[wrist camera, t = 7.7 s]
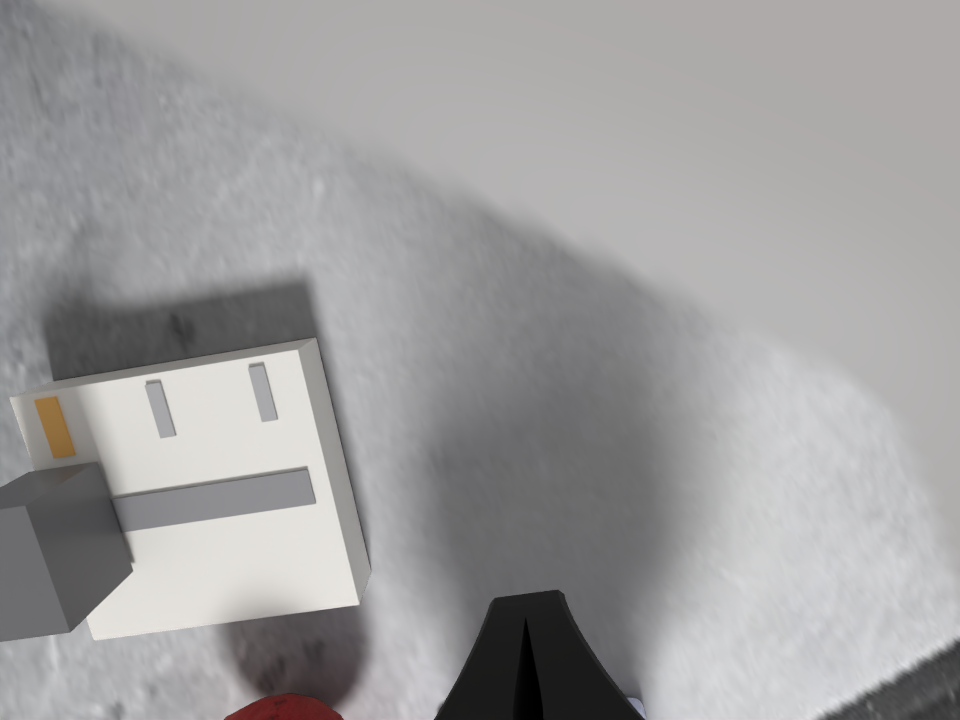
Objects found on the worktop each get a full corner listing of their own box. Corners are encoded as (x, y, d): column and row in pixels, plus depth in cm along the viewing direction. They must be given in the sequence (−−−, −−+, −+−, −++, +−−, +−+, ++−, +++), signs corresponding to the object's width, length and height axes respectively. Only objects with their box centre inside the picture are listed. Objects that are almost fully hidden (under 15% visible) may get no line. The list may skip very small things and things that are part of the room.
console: (371, 572, 24) (358, 606, 22) (127, 606, 24) (92, 642, 22) (316, 337, 22) (296, 350, 20) (52, 381, 22) (6, 398, 20)
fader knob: (133, 571, 21) (70, 632, 18) (66, 581, 22) (-7, 643, 18) (97, 461, 21) (25, 505, 17) (28, 472, 21) (-56, 517, 18)
